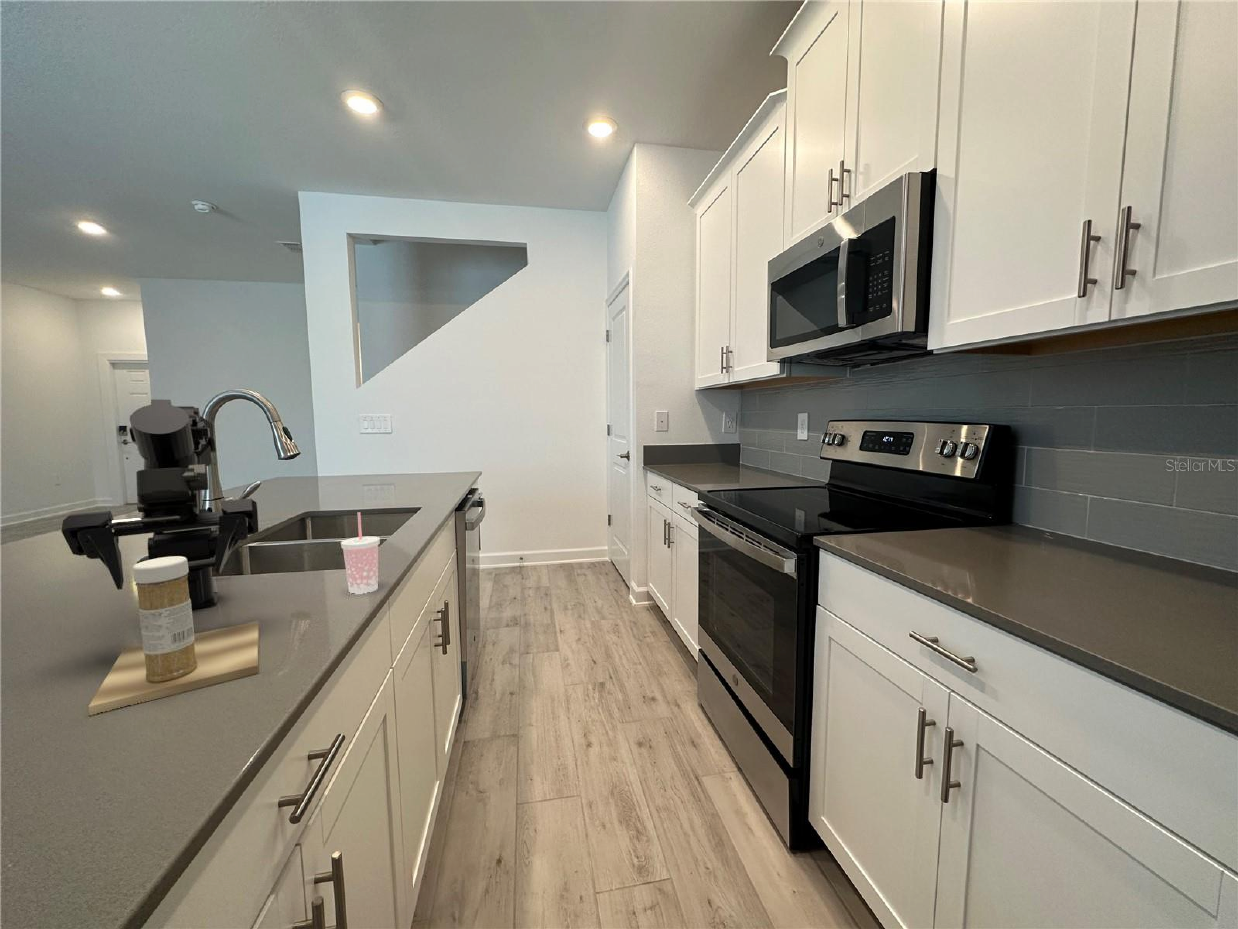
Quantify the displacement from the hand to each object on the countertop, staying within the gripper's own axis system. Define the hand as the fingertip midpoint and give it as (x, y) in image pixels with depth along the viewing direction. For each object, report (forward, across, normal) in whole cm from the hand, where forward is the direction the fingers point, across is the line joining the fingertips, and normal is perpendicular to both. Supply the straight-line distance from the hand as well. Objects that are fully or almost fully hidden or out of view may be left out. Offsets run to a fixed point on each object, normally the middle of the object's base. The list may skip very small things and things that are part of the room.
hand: (170, 579), depth 61 cm
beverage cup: (-1, +24, +16) cm, 29 cm away
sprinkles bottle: (+12, 0, +2) cm, 12 cm away
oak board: (+9, +1, +5) cm, 11 cm away
